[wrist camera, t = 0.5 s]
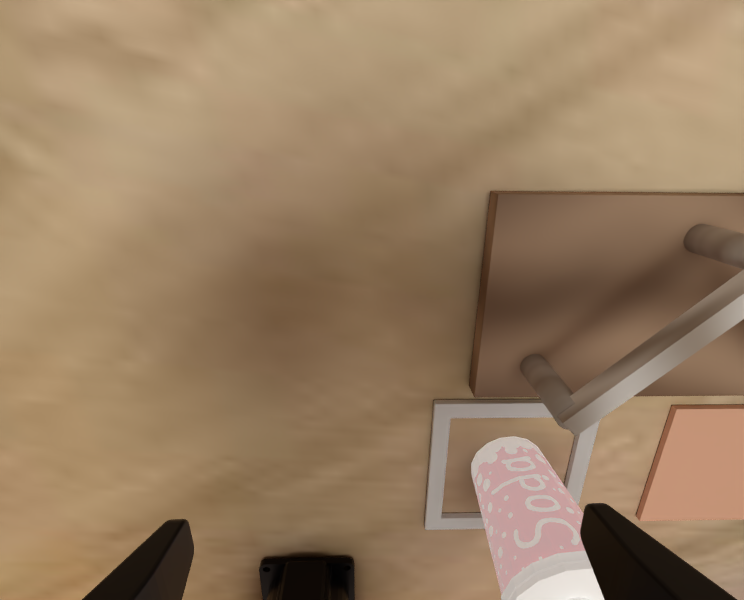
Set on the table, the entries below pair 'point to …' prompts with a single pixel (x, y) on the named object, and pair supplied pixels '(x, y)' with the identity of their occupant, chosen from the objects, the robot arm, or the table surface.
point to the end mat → (697, 466)
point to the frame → (489, 409)
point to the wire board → (610, 299)
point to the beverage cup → (531, 524)
